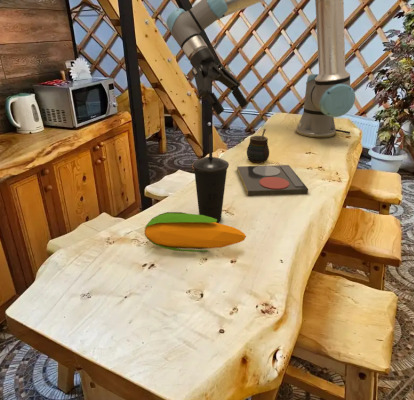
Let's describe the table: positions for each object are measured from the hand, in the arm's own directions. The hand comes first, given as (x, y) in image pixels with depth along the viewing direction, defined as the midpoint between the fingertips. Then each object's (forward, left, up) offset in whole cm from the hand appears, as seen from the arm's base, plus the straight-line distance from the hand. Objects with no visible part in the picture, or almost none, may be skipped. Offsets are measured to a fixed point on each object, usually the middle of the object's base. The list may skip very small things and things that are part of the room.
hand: (233, 109), depth 119 cm
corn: (+16, +56, -16) cm, 60 cm away
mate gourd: (-7, +7, -16) cm, 19 cm away
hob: (-7, +24, -15) cm, 30 cm away
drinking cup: (+12, +45, -16) cm, 49 cm away
